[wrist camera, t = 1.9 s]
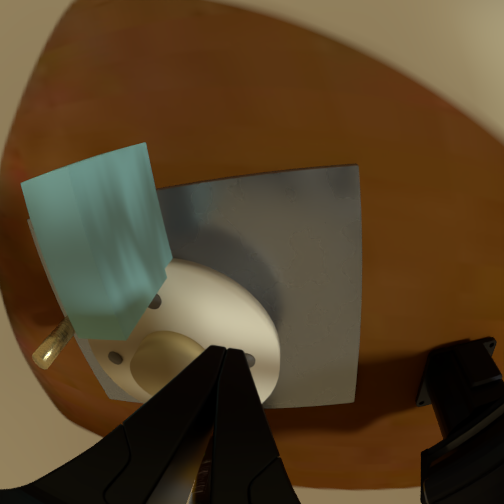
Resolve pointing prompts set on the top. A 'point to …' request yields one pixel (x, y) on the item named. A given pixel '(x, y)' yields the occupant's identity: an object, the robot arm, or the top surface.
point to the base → (271, 270)
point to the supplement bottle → (203, 478)
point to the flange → (139, 278)
